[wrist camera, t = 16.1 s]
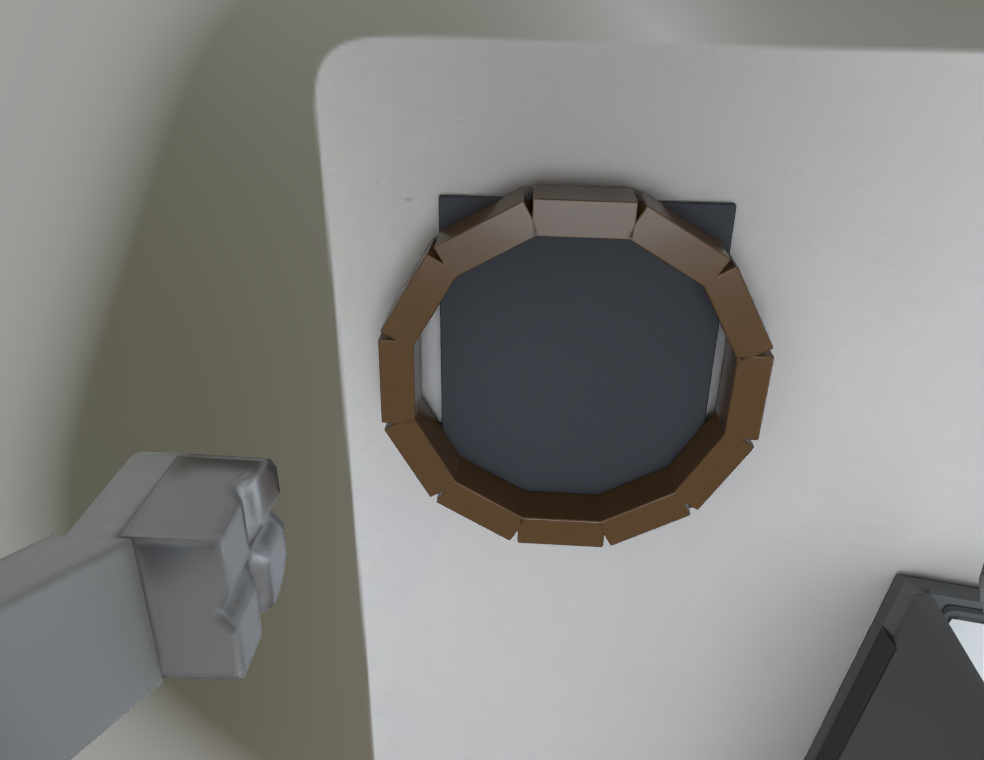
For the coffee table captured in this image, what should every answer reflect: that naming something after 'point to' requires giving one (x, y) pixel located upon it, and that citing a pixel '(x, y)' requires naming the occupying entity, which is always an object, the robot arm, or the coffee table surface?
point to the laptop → (913, 680)
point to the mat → (576, 356)
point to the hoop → (567, 512)
